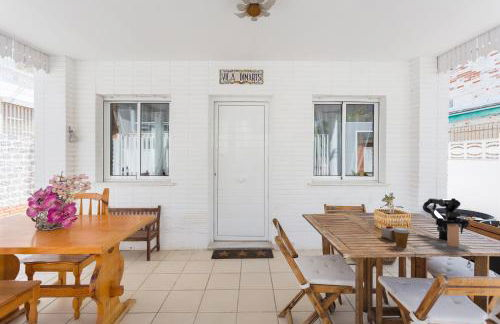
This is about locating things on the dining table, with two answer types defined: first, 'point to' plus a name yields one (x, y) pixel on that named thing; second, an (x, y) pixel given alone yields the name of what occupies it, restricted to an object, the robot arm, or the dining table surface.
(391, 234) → the food item
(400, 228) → the disposable coffee cup
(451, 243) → the tan tall block
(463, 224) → the robot arm
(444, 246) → the mat
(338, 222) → the dining table surface
